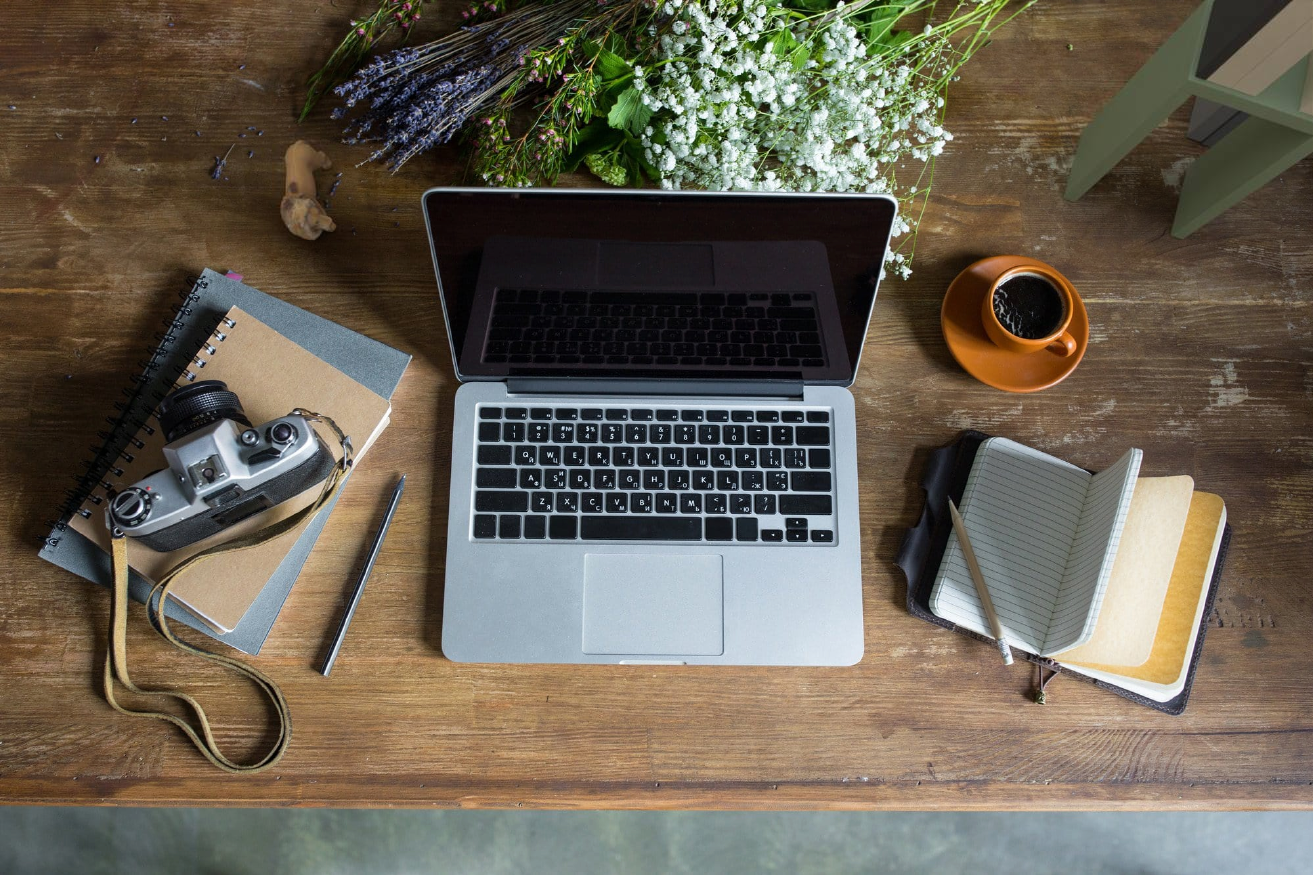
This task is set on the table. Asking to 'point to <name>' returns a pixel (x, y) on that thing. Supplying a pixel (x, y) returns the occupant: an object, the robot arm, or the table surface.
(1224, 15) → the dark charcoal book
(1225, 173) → the shelf
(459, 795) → the table surface
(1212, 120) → the grey books
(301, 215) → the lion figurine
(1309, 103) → the cream book
